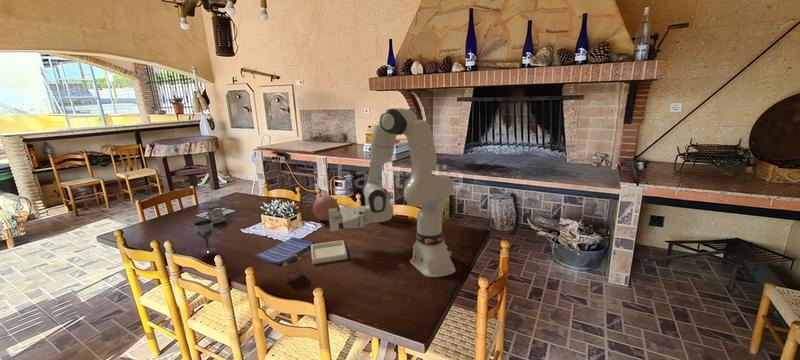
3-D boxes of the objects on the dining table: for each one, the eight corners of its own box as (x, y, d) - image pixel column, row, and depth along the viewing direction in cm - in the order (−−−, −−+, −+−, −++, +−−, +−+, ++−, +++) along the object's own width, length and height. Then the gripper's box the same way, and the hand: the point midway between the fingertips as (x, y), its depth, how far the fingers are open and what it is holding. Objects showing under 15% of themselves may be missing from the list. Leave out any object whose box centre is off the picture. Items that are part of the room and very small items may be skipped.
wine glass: (197, 255, 165) (191, 226, 161) (202, 248, 172) (196, 220, 168) (215, 252, 167) (210, 224, 163) (219, 245, 174) (214, 218, 170)
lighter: (299, 272, 146) (297, 251, 144) (304, 274, 144) (301, 253, 142) (283, 280, 140) (280, 258, 138) (287, 283, 138) (284, 261, 136)
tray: (347, 258, 157) (347, 254, 156) (312, 264, 153) (311, 259, 152) (343, 244, 172) (343, 240, 171) (311, 249, 168) (310, 244, 167)
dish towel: (316, 246, 172) (315, 241, 171) (279, 267, 152) (278, 261, 152) (292, 239, 180) (292, 234, 180) (254, 258, 161) (253, 253, 160)
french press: (209, 218, 213) (202, 180, 206) (229, 216, 216) (223, 179, 210) (205, 224, 204) (198, 184, 197) (226, 221, 207) (220, 182, 201)
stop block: (339, 230, 161) (337, 210, 158) (330, 231, 160) (328, 211, 157) (338, 227, 164) (336, 207, 162) (330, 228, 163) (328, 208, 161)
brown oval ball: (348, 215, 213) (347, 191, 209) (329, 226, 196) (326, 201, 192) (329, 211, 220) (327, 189, 216) (308, 222, 203) (306, 198, 199)
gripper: (356, 202, 173) (329, 205, 169) (363, 216, 154) (332, 220, 150) (357, 214, 174) (330, 217, 171) (364, 229, 155) (333, 233, 152)
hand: (331, 218), depth 160 cm, fingers closed on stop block, 4 cm apart
